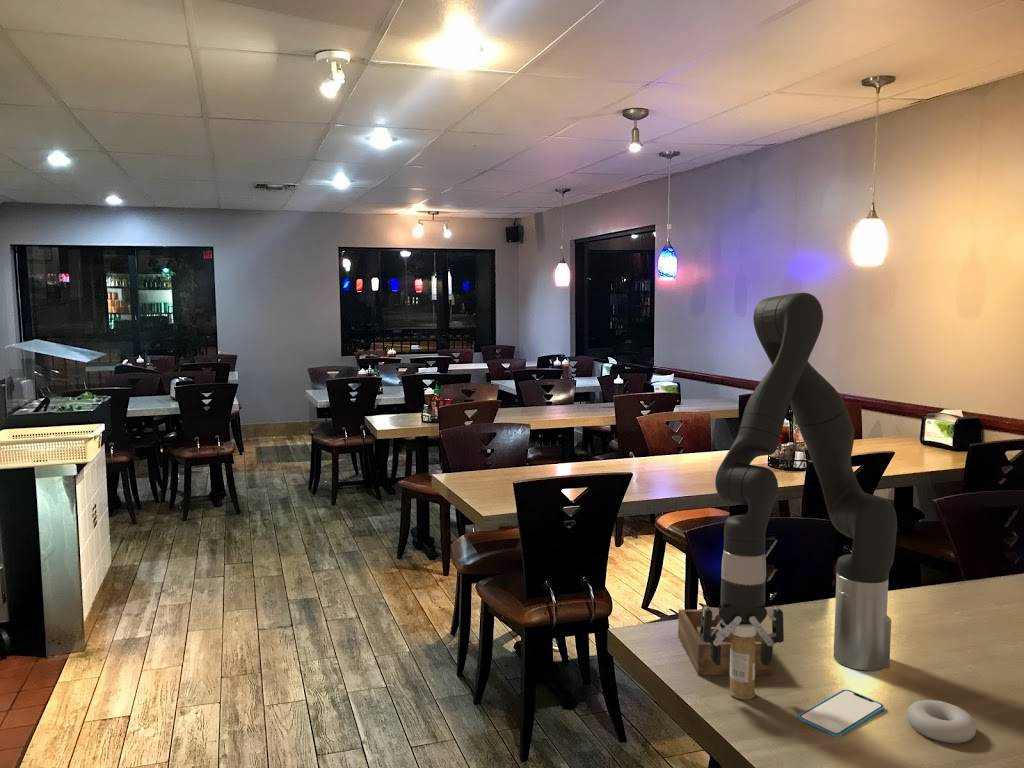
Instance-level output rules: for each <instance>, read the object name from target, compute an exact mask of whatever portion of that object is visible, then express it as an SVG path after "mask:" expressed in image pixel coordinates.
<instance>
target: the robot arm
mask: <svg viewBox="0 0 1024 768" xmlns="http://www.w3.org/2000/svg"><path fill="white" fill-rule="evenodd" d="M752 319H753V320H752V321H753V325H754V326H753V327H754V330H755V333H756V336H757V338H758V340H759V342H760V344H761V346H762V348H763V350H764V352H765V354H766V356H767V358H768V360H769V362H770V363H771V367H770V368H769V370H768V371H767V373H766V374H765V375H764V377H763V378H762V379H761V380H760V382H759V383H758V385H757V386H756V387H755V389H754V390H753V391H752V393H751V394H750V397H749V398H748V401H747V403H746V406H745V408H744V411H743V415H742V418H741V422H740V425H739V429H738V433H737V436H736V438H735V440H734V442H733V443H732V445H731V446H730V448H729V450H728V451H727V454H726V455H725V457H724V458H723V460H722V462H721V463H720V465H719V467H718V469H717V471H716V475H715V480H714V481H715V490H716V493H717V494H718V496H719V497H720V499H722V500H724V501H727V502H730V503H731V502H732V503H736V504H739V505H740V504H741V505H746V506H748V510H747V513H746V514H737V515H731V516H729V517H728V518H726V519H725V521H724V528H723V553H722V558H721V573H720V574H721V576H720V578H721V581H720V603H719V606H718V607H714V606H713V607H709V605H707V604H704V605H702V607H701V610H702V615H701V627H700V636H701V637H702V639H703V641H704V642H706V643H707V642H708V643H711V646H710V657H711V659H712V661H713V662H714V663H715V665H716V666H720V664H721V646H720V643H721V642H722V641H723V640H724V638H726V637H728V636H729V634H730V633H731V632H732V631H733V629H734V628H735V627H736V626H738V624H740V625H743V624H752V625H753V626H755V629H756V631H757V632H758V633H759V635H760V636H761V637H762V639H763V641H761V662H762V664H763V665H764V666H768V665H769V662H771V661H772V662H773V653H772V646H773V647H774V645H775V644H776V643H779V644H781V643H784V639H785V637H784V636H785V635H784V633H785V631H784V611H783V610H782V609H781V608H780V607H779V606H778V605H777V604H774V605H772V606H771V607H765V606H766V605H765V604H766V582H767V581H766V578H767V561H766V533H767V528H768V524H769V521H770V516H771V513H772V510H773V507H774V505H775V502H776V499H777V495H778V493H779V482H778V479H777V476H776V474H775V473H774V472H773V470H771V469H770V468H768V467H765V466H761V465H754V464H751V463H752V462H753V461H754V460H755V458H758V457H763V456H764V457H765V456H769V455H770V456H771V455H773V454H775V453H776V452H777V449H778V447H779V443H780V438H781V435H782V432H783V428H784V423H785V420H786V416H787V413H788V410H789V406H790V407H791V408H790V409H791V411H792V413H793V417H794V419H795V422H796V425H797V427H798V431H799V433H800V435H801V437H802V439H803V442H804V444H805V446H806V448H807V451H808V454H809V456H810V459H811V462H812V464H813V467H814V470H815V472H816V475H817V477H818V480H819V483H820V487H821V490H822V494H823V498H824V501H825V502H824V503H825V505H826V510H827V514H828V517H829V519H830V522H831V524H832V525H833V528H835V530H837V531H838V533H840V534H842V535H844V536H845V537H848V538H850V539H852V540H853V541H852V548H851V549H852V550H851V553H850V554H843V555H841V556H839V557H837V561H836V579H835V580H836V581H835V582H836V583H835V604H834V605H835V606H834V607H835V609H834V611H835V612H834V629H833V630H834V632H833V633H834V634H833V635H834V636H833V658H834V660H835V661H836V662H837V663H838V664H841V665H843V666H845V667H848V668H851V669H855V670H860V671H877V670H878V671H879V670H881V669H883V668H885V667H886V668H887V667H888V668H889V667H891V666H890V665H891V663H890V662H891V643H892V642H891V639H892V618H891V617H890V616H888V599H889V598H888V597H889V576H890V573H889V572H890V570H891V568H892V567H893V563H894V561H895V560H894V559H895V555H896V553H895V551H896V543H897V542H896V541H897V532H898V518H897V512H896V509H895V507H894V506H893V504H892V503H891V502H889V501H888V500H886V499H885V498H882V497H880V496H877V495H873V494H870V493H867V492H865V491H864V490H863V489H862V488H861V485H860V484H859V482H858V479H857V477H856V475H855V472H854V469H853V466H852V453H853V448H854V442H855V429H854V428H855V427H854V426H853V422H852V419H851V417H850V413H849V411H848V409H847V407H846V403H845V400H844V398H843V397H842V396H841V394H840V392H838V391H837V389H836V388H835V387H834V386H833V385H832V384H831V383H830V382H829V381H828V380H827V379H826V378H825V377H824V376H823V375H822V374H820V373H819V371H818V370H816V369H815V368H814V367H813V366H812V364H810V362H809V358H810V357H811V354H812V352H813V350H814V347H815V345H816V343H817V340H818V338H819V336H820V333H821V330H822V326H823V323H824V312H823V308H822V305H821V303H820V301H819V299H817V297H816V296H815V295H814V294H811V293H808V292H795V293H789V294H788V293H787V294H782V295H775V296H771V297H766V298H764V299H761V300H760V301H759V302H758V303H757V304H756V306H755V308H754V310H753V318H752ZM717 615H719V616H720V617H721V618H722V620H721V621H720V622H719V623H718V624H717V626H716V629H715V630H714V631H713V633H712V634H710V633H711V622H712V620H714V619H715V617H716V616H717ZM767 616H768V617H769V619H770V620H771V633H768V632H767V631H766V630H765V628H764V627H763V626H762V623H763V622H764V620H765V619H766V618H767Z"/></svg>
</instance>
